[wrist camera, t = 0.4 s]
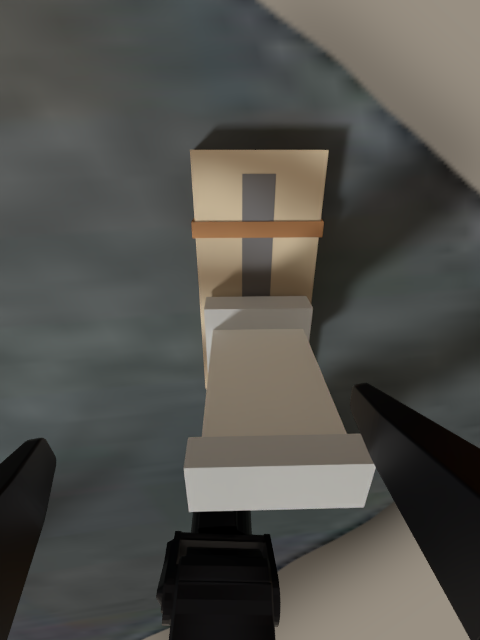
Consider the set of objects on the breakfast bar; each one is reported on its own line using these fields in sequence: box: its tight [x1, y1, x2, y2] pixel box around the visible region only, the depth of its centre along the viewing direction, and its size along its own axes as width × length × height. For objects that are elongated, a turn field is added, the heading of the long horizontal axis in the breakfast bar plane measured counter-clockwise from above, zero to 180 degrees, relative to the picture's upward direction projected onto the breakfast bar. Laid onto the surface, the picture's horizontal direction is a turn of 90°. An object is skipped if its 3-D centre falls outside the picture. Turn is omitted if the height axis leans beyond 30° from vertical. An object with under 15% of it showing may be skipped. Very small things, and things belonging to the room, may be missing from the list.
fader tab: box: [184, 296, 376, 512], centre depth 18 cm, size 5×7×13 cm
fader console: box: [190, 150, 329, 389], centre depth 23 cm, size 18×8×2 cm, turn 0°
